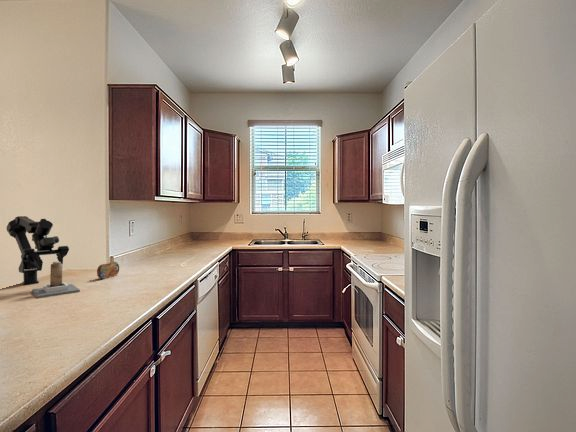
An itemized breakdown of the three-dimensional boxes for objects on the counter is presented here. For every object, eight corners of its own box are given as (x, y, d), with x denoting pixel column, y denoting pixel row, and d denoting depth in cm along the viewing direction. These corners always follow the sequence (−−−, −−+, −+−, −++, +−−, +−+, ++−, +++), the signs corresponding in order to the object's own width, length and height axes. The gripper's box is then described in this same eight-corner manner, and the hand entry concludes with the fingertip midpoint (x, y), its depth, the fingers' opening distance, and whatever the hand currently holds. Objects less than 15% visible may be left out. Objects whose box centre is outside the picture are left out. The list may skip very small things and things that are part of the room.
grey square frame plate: (32, 291, 155) (32, 285, 155) (71, 285, 167) (71, 280, 167) (38, 298, 144) (37, 291, 144) (79, 291, 156) (79, 285, 155)
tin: (100, 280, 180) (100, 265, 180) (95, 280, 181) (95, 264, 180) (119, 274, 195) (119, 260, 195) (115, 274, 195) (115, 260, 195)
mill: (51, 288, 157) (52, 261, 157) (62, 287, 159) (63, 261, 158) (48, 290, 153) (49, 263, 152) (60, 290, 154) (61, 262, 154)
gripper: (23, 232, 152) (32, 258, 147) (67, 230, 168) (77, 253, 162) (16, 247, 157) (26, 273, 151) (60, 244, 173) (70, 267, 167)
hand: (51, 266), depth 158 cm, fingers open, 9 cm apart
